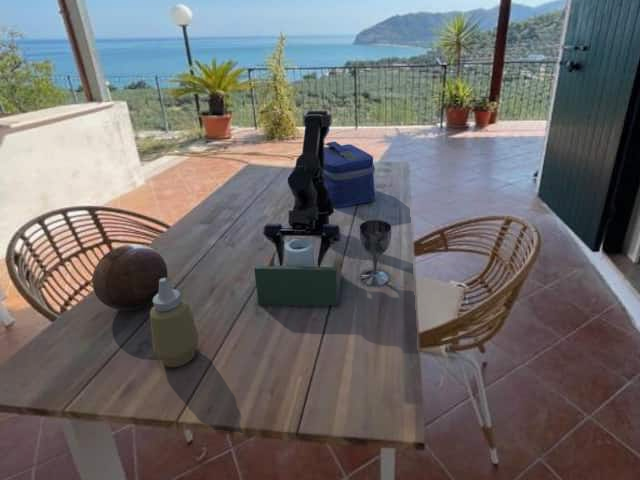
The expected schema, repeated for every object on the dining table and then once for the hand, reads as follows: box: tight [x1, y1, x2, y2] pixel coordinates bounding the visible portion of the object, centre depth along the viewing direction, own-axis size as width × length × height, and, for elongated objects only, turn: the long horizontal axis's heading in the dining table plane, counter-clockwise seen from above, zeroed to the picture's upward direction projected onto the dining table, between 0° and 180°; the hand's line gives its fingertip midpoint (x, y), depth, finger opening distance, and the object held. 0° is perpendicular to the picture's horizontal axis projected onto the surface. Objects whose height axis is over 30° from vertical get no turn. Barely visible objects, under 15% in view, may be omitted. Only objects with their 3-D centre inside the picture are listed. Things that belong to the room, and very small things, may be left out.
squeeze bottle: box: [149, 278, 200, 368], centre depth 74 cm, size 8×8×18 cm
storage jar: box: [284, 237, 315, 267], centre depth 95 cm, size 7×7×13 cm
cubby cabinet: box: [254, 252, 343, 307], centre depth 96 cm, size 13×19×10 cm
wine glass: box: [359, 219, 392, 287], centre depth 100 cm, size 8×8×15 cm
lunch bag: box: [324, 140, 376, 208], centre depth 157 cm, size 31×21×20 cm
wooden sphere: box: [91, 243, 168, 311], centre depth 90 cm, size 15×15×15 cm
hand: (299, 266), depth 94 cm, fingers open, 9 cm apart
